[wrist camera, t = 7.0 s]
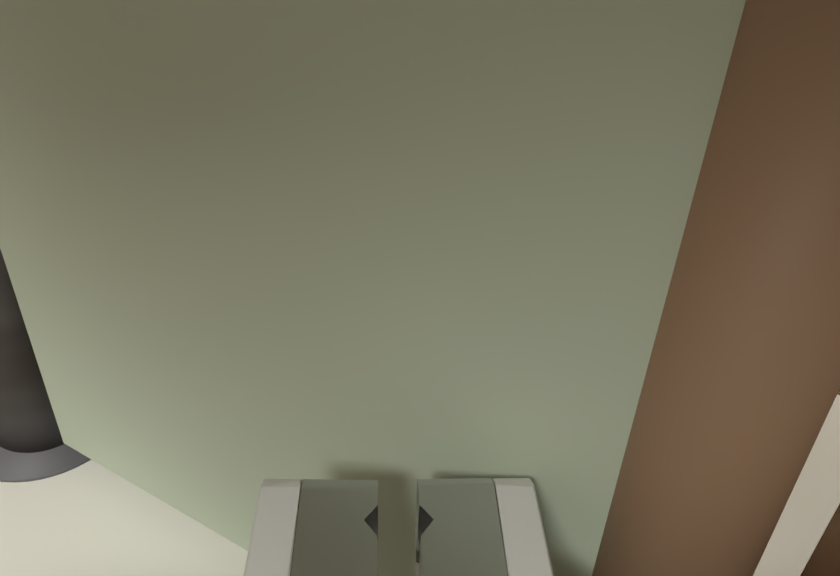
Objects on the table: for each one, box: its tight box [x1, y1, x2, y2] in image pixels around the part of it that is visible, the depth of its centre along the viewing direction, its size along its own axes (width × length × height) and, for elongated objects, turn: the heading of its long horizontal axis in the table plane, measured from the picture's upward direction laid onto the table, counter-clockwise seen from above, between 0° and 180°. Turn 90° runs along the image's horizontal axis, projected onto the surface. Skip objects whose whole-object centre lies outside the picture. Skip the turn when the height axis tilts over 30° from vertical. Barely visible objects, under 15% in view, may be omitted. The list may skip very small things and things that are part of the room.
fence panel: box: [0, 0, 840, 576], centre depth 12 cm, size 14×2×12 cm, turn 60°
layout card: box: [0, 394, 840, 576], centre depth 21 cm, size 26×20×1 cm
